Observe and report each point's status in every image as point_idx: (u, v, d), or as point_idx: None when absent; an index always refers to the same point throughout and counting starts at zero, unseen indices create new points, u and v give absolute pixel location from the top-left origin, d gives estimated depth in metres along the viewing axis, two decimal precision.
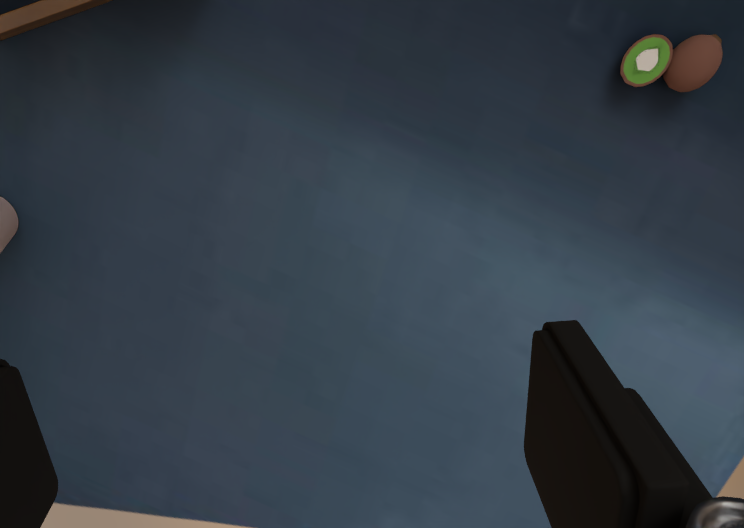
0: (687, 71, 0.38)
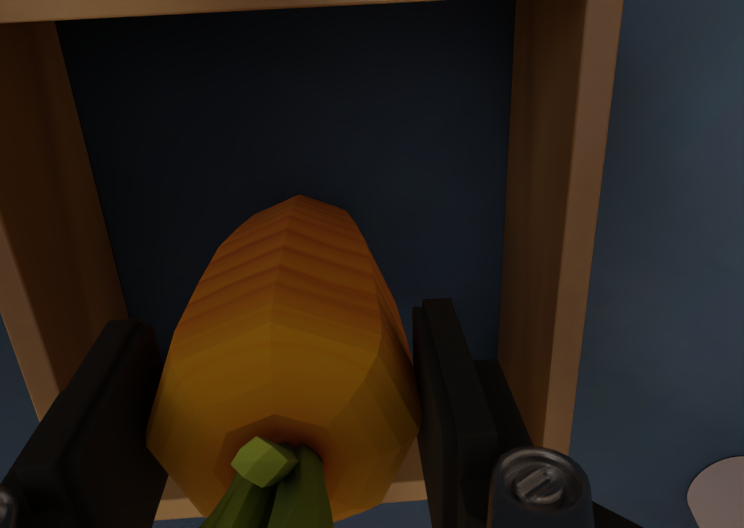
0: None
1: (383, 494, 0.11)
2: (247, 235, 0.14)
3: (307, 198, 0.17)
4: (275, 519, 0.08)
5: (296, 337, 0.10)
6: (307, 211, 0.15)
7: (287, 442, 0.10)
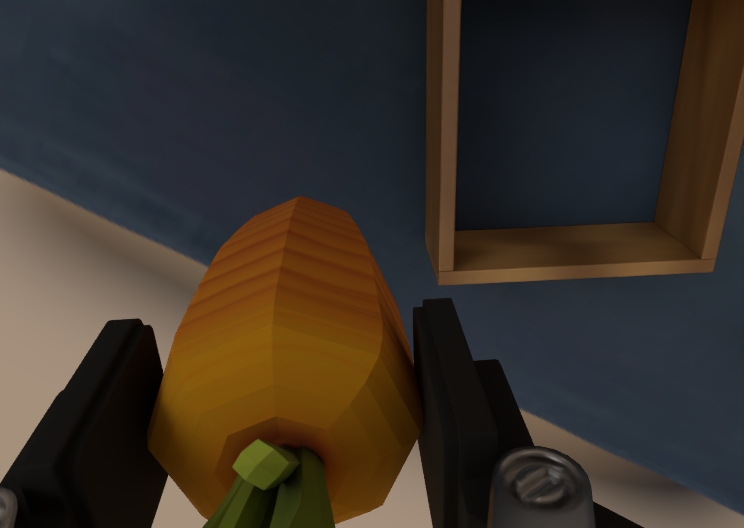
0: None
1: (384, 496, 0.11)
2: (248, 237, 0.14)
3: (308, 199, 0.17)
4: (276, 522, 0.08)
5: (298, 339, 0.10)
6: (308, 212, 0.15)
7: (289, 444, 0.10)
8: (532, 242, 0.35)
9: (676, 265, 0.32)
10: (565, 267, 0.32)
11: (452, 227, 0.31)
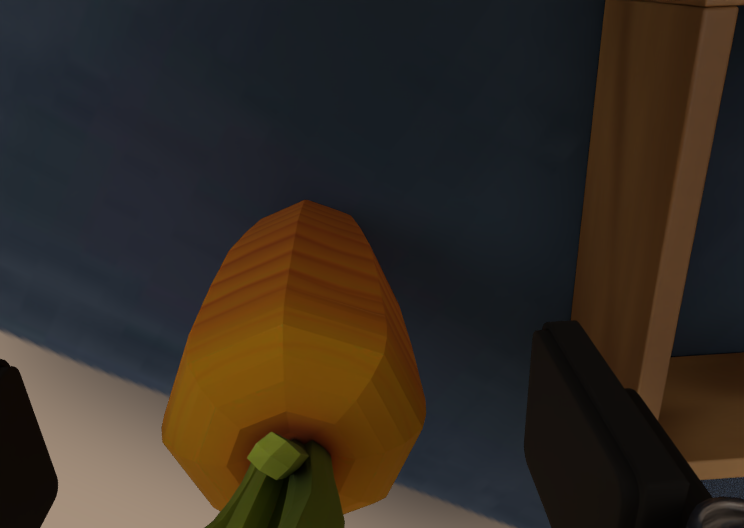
0: None
1: (388, 489, 0.12)
2: (256, 240, 0.14)
3: (313, 203, 0.17)
4: (288, 509, 0.09)
5: (307, 338, 0.10)
6: (314, 216, 0.15)
7: (298, 438, 0.11)
8: None
9: None
10: None
11: (658, 401, 0.18)
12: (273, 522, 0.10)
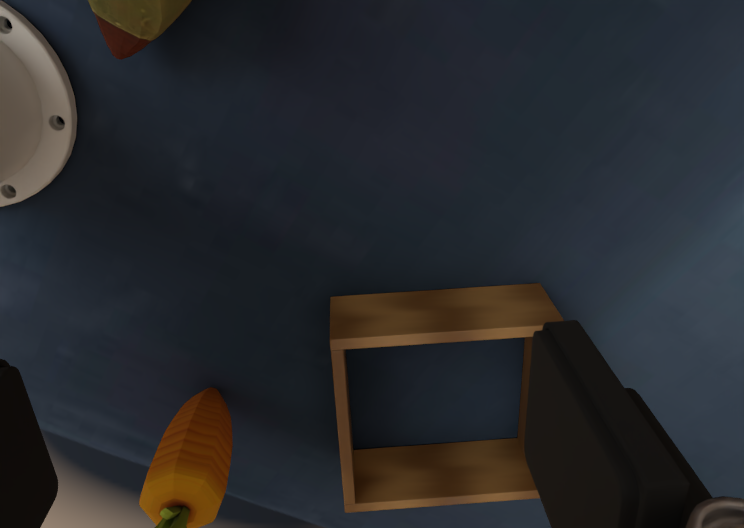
0: None
1: (212, 519, 0.36)
2: (175, 426, 0.39)
3: (204, 399, 0.42)
4: (170, 527, 0.33)
5: (181, 476, 0.35)
6: (199, 413, 0.40)
7: (179, 505, 0.35)
8: (420, 465, 0.47)
9: (519, 494, 0.44)
10: (437, 498, 0.44)
11: (351, 478, 0.43)
12: None
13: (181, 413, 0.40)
